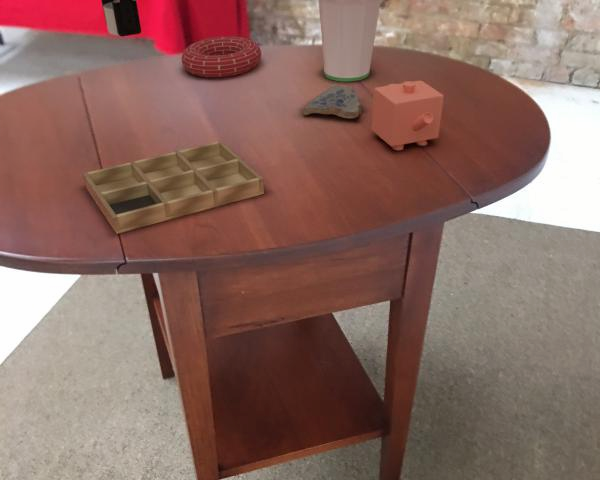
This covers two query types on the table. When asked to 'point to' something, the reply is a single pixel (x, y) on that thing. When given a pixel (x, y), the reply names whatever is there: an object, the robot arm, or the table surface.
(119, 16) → the robot arm
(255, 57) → the torus
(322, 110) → the ceramic fragment
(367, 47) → the cup
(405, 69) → the table surface
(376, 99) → the pink cube teapot
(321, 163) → the table surface
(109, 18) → the grey squat cylinder
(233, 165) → the compartment tray
